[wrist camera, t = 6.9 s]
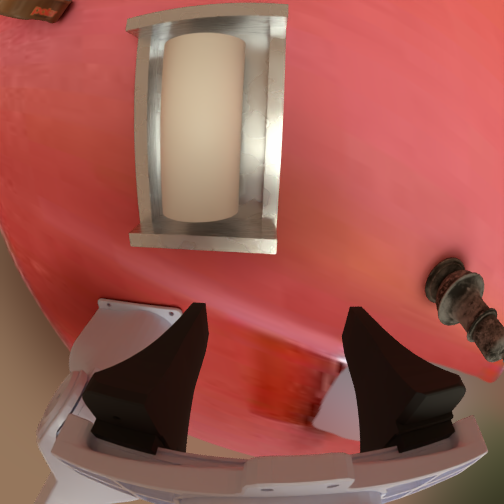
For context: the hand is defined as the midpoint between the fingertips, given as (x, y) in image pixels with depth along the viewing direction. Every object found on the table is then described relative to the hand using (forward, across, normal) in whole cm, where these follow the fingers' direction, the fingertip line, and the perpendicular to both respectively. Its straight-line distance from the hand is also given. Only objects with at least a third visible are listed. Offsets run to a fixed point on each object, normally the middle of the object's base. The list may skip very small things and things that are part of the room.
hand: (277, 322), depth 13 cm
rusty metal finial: (+10, -18, +3) cm, 21 cm away
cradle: (+9, +5, -9) cm, 14 cm away
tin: (+10, +23, -27) cm, 37 cm away
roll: (+9, +5, -9) cm, 14 cm away
